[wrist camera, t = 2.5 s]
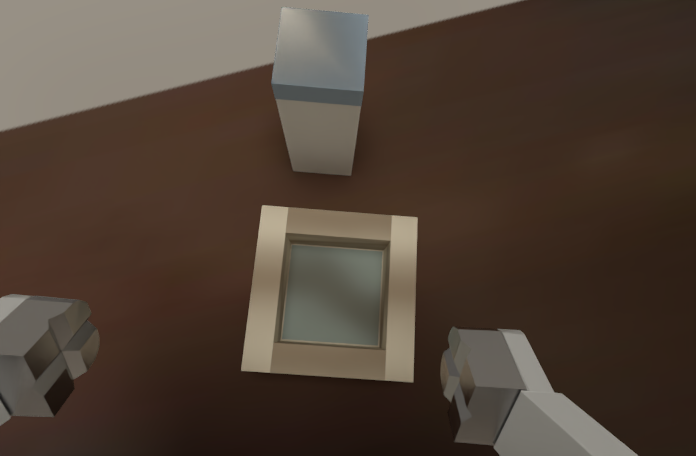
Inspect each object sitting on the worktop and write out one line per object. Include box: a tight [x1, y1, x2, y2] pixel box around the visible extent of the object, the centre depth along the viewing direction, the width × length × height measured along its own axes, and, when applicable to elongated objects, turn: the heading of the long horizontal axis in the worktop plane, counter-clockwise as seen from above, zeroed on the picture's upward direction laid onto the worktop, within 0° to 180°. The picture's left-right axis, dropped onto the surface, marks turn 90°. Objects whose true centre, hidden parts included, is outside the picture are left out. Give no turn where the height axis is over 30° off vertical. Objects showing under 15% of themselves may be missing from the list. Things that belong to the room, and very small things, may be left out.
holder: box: [241, 205, 418, 382], centre depth 23 cm, size 9×9×4 cm
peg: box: [271, 7, 368, 176], centre depth 22 cm, size 4×4×10 cm
